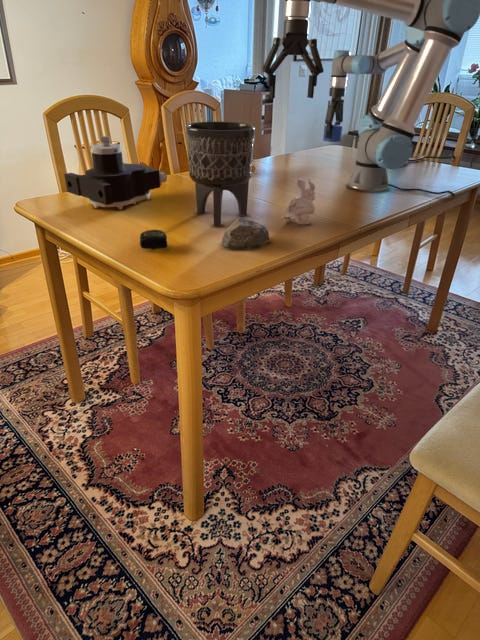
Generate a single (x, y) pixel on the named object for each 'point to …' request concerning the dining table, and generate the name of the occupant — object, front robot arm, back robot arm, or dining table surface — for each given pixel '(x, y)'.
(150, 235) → the tape measure
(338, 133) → the blue cylinder
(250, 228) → the rock
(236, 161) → the planter
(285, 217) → the figurine
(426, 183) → the dining table surface
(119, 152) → the mechanical component
